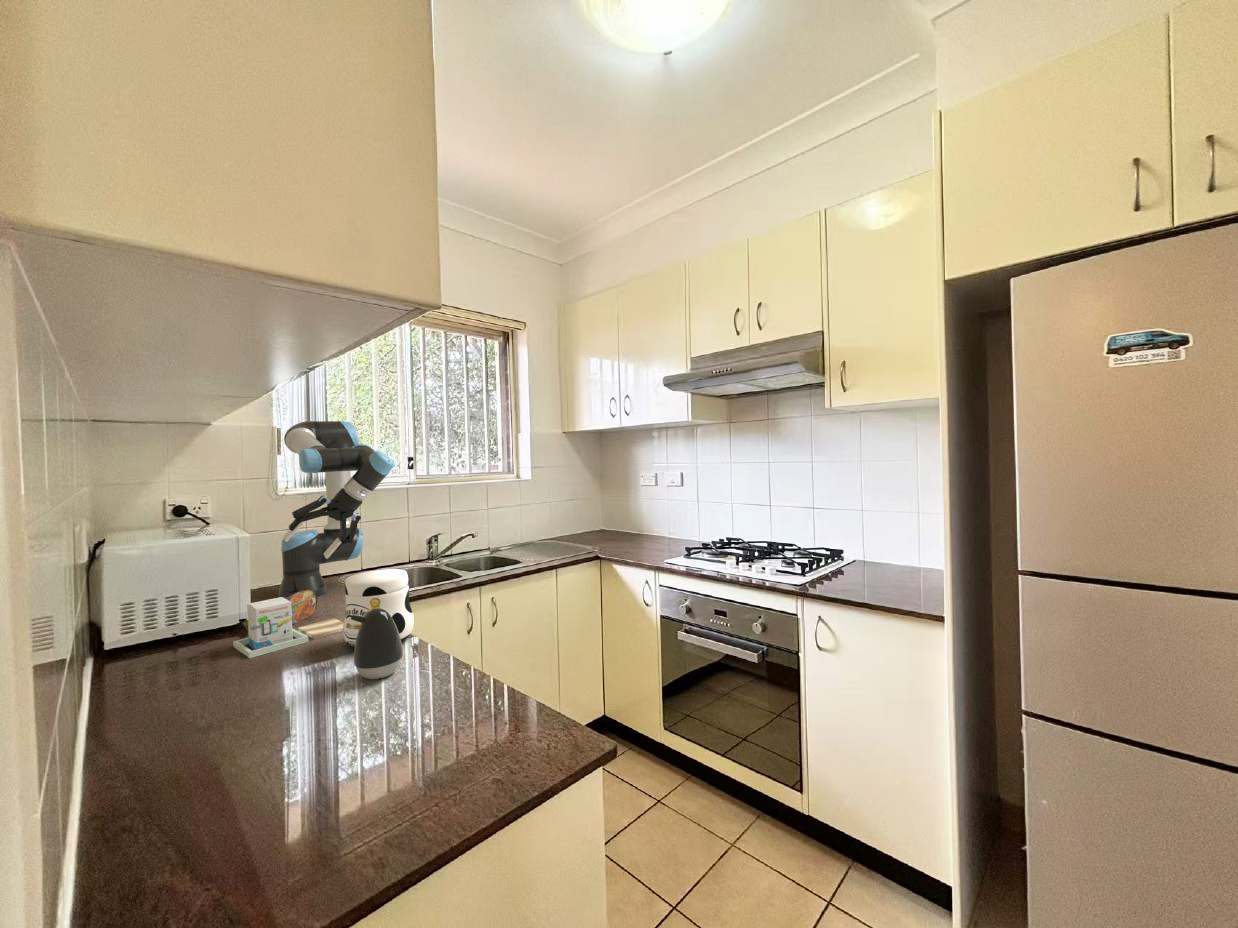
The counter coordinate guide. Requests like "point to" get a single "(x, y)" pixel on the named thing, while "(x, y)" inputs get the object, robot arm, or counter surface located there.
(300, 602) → the tin
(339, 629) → the pad
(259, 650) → the tray
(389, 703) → the counter surface
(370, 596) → the milk container
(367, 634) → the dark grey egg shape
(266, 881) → the counter surface
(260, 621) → the ink box
